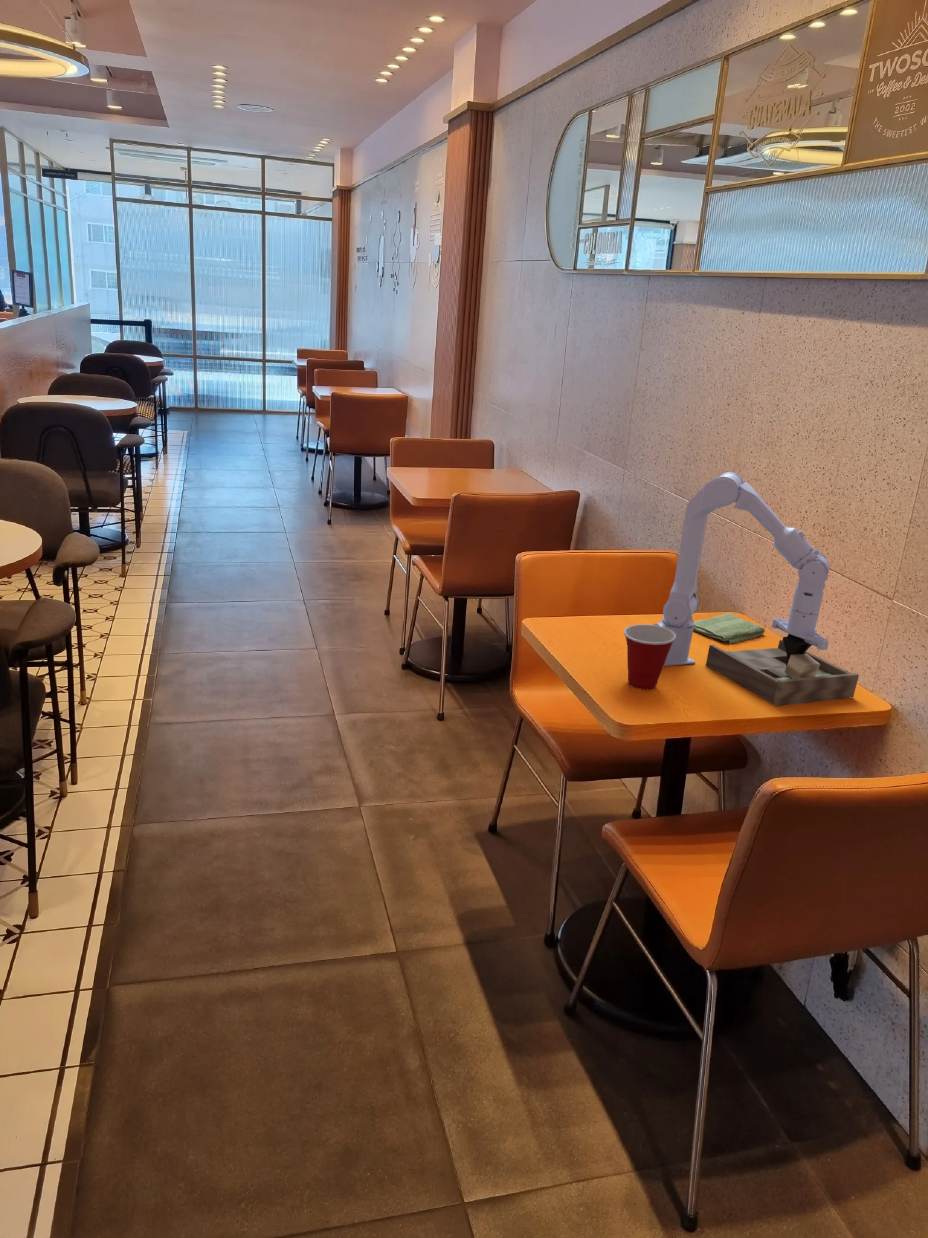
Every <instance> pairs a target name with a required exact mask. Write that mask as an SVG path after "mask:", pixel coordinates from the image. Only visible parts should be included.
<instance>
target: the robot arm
mask: <svg viewBox="0 0 928 1238" xmlns="http://www.w3.org/2000/svg"><path fill="white" fill-rule="evenodd" d="M733 503H735V504H734V506H733V508H734V509H737V510H741V511H747V512H748V513H750V515H751V516H753V518H754V519H756V521H757V522H759V524H761V526H762V527H763V528H764V529H766V531H767V532H768V533H769V534H770V535H771V536H772V537H773V546H774V548H775V549H776V550H777V552H779V554H780V555H781V556H782V557H783V558H784V559H785V560H786V561H787V563H788V564H789V565H790V566H792V568H794V569H796V570H798V571H797V574H798V582H797V586H796V587H795V589H794V593H793V597H792V602H791V607H790V610H789V611H790V612H789V616H788V619H787V620H785V619H782V618H773V621H772V625H771V628H774V629H777V630H780V631H782V632H784V633H786V634H787V636H783V637H782V640H783V643H784V645H785V649H786V654H787V663H786V667H787V664H788V661H789V659H790V656H791V655H796V654H804V653H805V652H806V651H807V652H808V650H809V649H810V648H811V647H812V646H813V647H816V649H817V650H820V651H825V650H828V649H829V648H828V646H829V643H830V641H829V640H827V639H826V638H824V637H823V636H821V635H820V634H819V633H818V632H817V629H816V628H817V627H816V626H817V623H818V619H819V615H820V610H821V607H822V606H821V605H822V602H823V599H824V595H825V594H824V590H825V587H826V581H827V580H828V578H829V573H830V567H831V566H830V562H829V561H828V559H827V557H826V555H824V554H822V553H821V551H820V549H819V548H814V547H813V546H812V544H811V543H810V542H809V541H808V540H807V539H806V538H805V536H806V533H805V532H804V531H803V530H801V529H800V530H798V529H797V528H796V527H787V526H786V525H785V523H783V522H782V520H781V519H780V518H779V517H778V515H777V514H776V513H775V512H774V511H773V509H772V508H771V507H770V506H769V505H768V504H767V503H766V502H765V500H764V499H763V498H762V497H761V496H760V494H759V493H758V492H757V491H756V490H755V489H754V488H753V486H751V485H750V484H749V483H748V482H746V481H745V482H744V480H743V478H742V476H741V475H739V474H738V473H735V472H731V471H727V472H724V473H722V474H720V475H718V476H716V477H713V478H712V479H711V480H710V481H708V482H706V483H705V484H704V485H703V486H702V488H700V489H699V490H698V491H697V493H696V494H695V495H693V497H692V498H691V499H689V501H688V502H687V504H686V508H685V513H684V514H685V515H684V519H683V526H682V533H681V538H680V545H679V551H678V557H677V563H676V569H675V576H674V580H673V581H674V582H673V583H672V586H671V589H670V592H669V597H668V600H667V601H666V602H665V604H664V605H663V609H662V614H663V616H662V619H661V620H660V621H659V622H657V623H653V624H652V625H656V626H660V627H665V628H667V629H669V630H672V631H673V632H674V633H675V634H676V639H675V640H674V641H673V643H672V646H671V648H670V651H669V652H668V655H667V658H666V661H665V664H664V666H663V667H667V666H678V665H680V666H681V665H690V664H691V665H692V664H693V665H694V664H696V660H695V659H692V658H690V657H689V654H690V648H691V643H692V639H693V633H694V631H693V628H694V622H695V621H694V620H693V615H694V614H695V613H697V611H698V608H699V599H698V596H697V591H698V590H697V589H698V584H697V582H698V581H697V580H698V575H699V570H700V569H699V568H700V562H701V558H702V551H703V546H704V540H705V536H706V535H705V534H706V527H707V523H708V517H709V514H711V513H712V512H715V510H717V509H720V508H724V507H727V506H730V505H732V504H733Z"/></svg>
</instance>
